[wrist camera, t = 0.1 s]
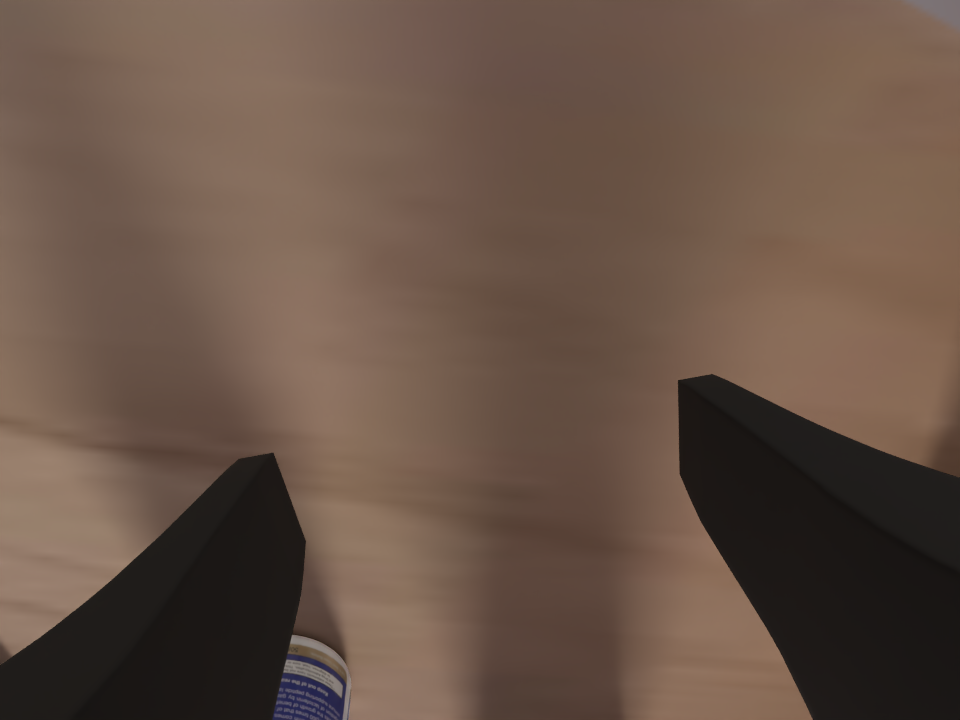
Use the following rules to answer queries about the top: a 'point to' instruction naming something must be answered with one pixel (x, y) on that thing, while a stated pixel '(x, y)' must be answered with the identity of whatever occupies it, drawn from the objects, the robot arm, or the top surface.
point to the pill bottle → (313, 683)
